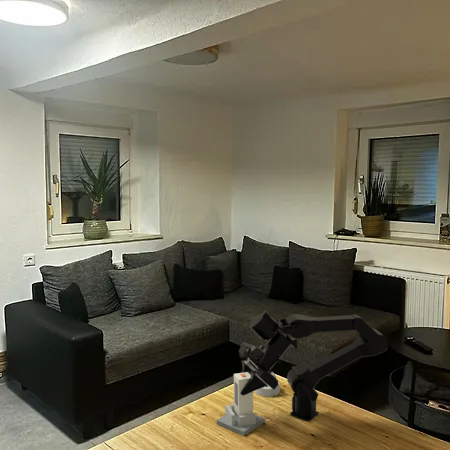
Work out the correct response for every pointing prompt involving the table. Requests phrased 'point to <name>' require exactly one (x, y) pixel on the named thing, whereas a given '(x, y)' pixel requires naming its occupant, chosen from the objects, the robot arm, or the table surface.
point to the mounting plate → (237, 428)
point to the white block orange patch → (242, 403)
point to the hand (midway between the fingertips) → (238, 391)
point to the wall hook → (268, 390)
